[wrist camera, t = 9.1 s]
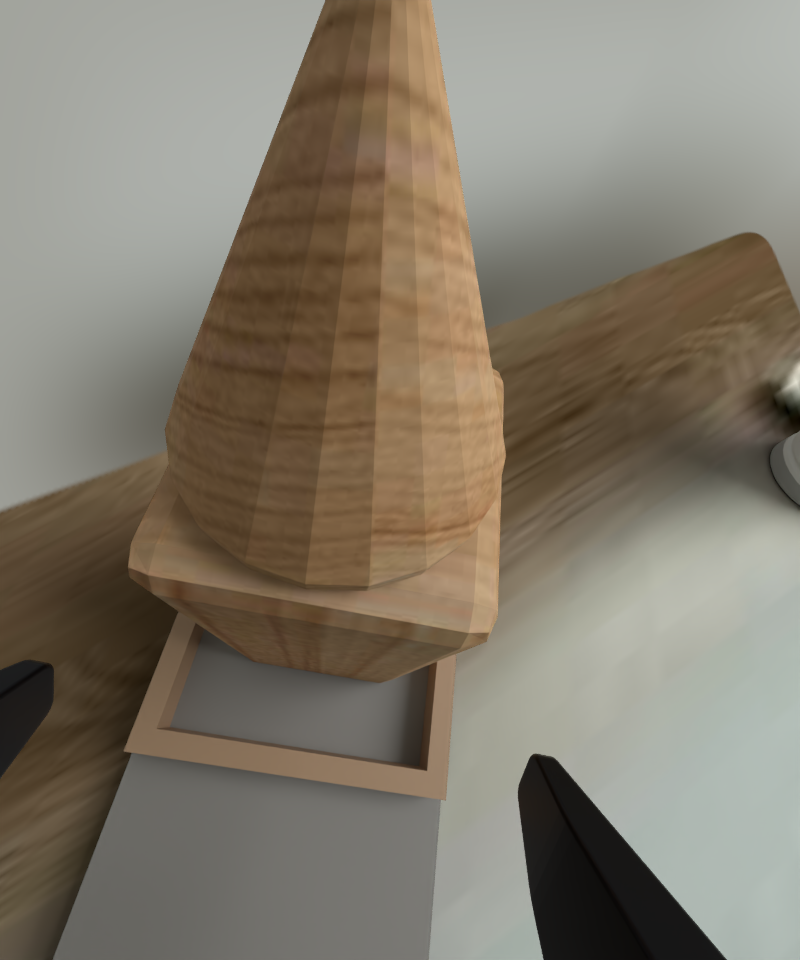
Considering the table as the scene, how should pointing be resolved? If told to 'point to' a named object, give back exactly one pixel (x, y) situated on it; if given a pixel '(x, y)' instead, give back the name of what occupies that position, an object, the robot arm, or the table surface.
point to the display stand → (270, 815)
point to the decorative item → (341, 384)
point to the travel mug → (787, 466)
